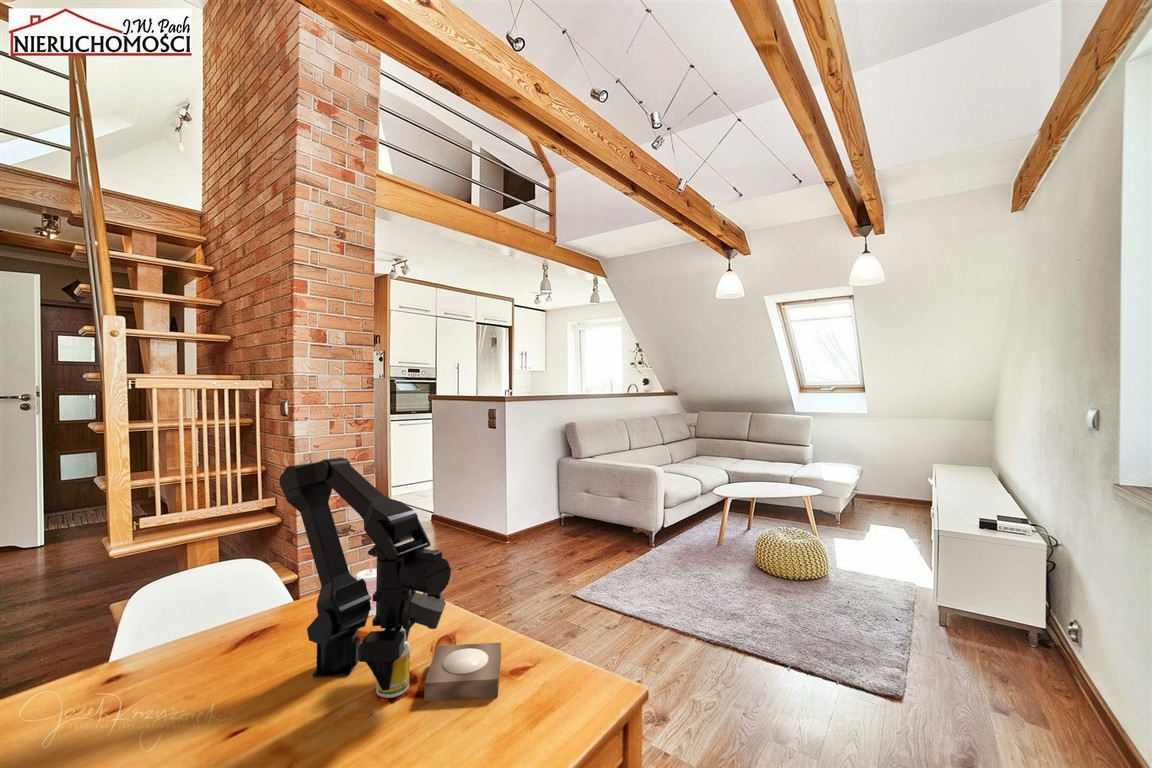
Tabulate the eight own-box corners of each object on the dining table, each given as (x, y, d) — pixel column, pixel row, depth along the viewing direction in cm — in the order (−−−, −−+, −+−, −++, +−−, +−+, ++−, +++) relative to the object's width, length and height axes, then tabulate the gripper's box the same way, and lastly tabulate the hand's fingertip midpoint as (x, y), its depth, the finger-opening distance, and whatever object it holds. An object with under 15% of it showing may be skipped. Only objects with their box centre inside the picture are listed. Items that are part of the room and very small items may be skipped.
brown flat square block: (424, 701, 80) (424, 682, 80) (436, 661, 92) (437, 644, 92) (497, 696, 82) (497, 677, 82) (500, 658, 94) (501, 641, 94)
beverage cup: (370, 604, 117) (371, 545, 117) (390, 609, 115) (390, 549, 115) (349, 615, 112) (350, 553, 112) (369, 620, 109) (370, 557, 109)
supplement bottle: (372, 687, 84) (372, 631, 84) (402, 676, 88) (403, 622, 88) (382, 703, 80) (382, 644, 80) (414, 690, 83) (414, 634, 84)
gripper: (432, 604, 76) (431, 706, 75) (449, 562, 94) (449, 644, 94) (357, 607, 74) (356, 710, 74) (390, 564, 93) (389, 647, 93)
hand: (393, 674), depth 84 cm, fingers open, 8 cm apart
